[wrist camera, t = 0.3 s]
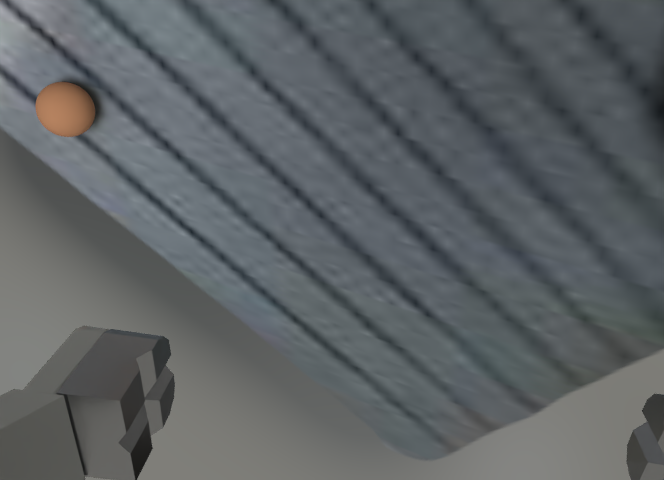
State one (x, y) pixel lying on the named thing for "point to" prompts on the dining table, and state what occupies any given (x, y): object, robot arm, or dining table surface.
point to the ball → (65, 109)
